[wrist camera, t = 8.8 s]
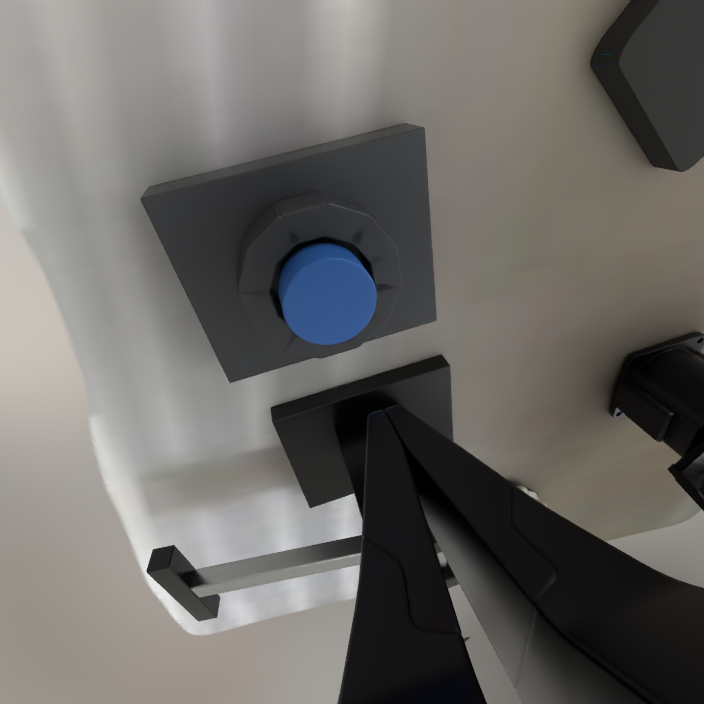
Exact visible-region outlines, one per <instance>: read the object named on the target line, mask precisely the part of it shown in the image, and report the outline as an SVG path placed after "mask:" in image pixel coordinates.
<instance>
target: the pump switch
mask: <svg viewBox="0 0 704 704" xmlns="http://www.w3.org/2000/svg"><path fill="white" fill-rule="evenodd" d="M141 202H142V204H143V206H144V208H145V210H146V212H147V214H148V216H149V218H150V220H151V222H152V224H153V226H154V228H155V230H156V232H157V234H158V236H159V239H160V241H161V243H162V245H163V247H164V249H165V251H166V253H167V255H168V257H169V259H170V261H171V263H172V265H173V267H174V269H175V271H176V273H177V275H178V278H179V280H180V282H181V284H182V286H183V288H184V290H185V292H186V294H187V296H188V298H189V300H190V302H191V304H192V306H193V308H194V310H195V312H196V315H197V317H198V319H199V321H200V323H201V325H202V327H203V329H204V331H205V333H206V335H207V337H208V339H209V341H210V343H211V345H212V347H213V349H214V352H215V354H216V356H217V358H218V360H219V362H220V364H221V366H222V368H223V370H224V372H225V374H226V376H227V378H228V380H229V382H230V383H231V382H235V381H238V380H241V379H245V378H248V377H251V376H255V375H258V374H261V373H265V372H268V371H271V370H274V369H278V368H281V367H284V366H288V365H291V364H294V363H298V362H301V361H304V360H308V359H311V358H325V357H328V356H331V355H335V354H338V353H341V352H345V351H348V350H351V349H355V348H357V347H359V346H361V345H362V344H363V343H364V342H367V341H370V340H374V339H377V338H380V337H384V336H387V335H390V334H393V333H397V332H400V331H403V330H407V329H410V328H413V327H417V326H420V325H423V324H427V323H430V322H433V321H436V304H435V288H434V272H433V256H432V240H431V224H430V208H429V192H428V176H427V160H426V144H425V129H424V127H420V126H415V125H411V124H406V123H405V124H401V125H397V126H393V127H389V128H385V129H381V130H377V131H373V132H369V133H365V134H360V135H356V136H352V137H348V138H344V139H340V140H336V141H332V142H328V143H324V144H320V145H316V146H312V147H308V148H304V149H300V150H296V151H292V152H288V153H284V154H280V155H276V156H272V157H268V158H264V159H260V160H256V161H251V162H247V163H243V164H239V165H235V166H231V167H227V168H223V169H219V170H215V171H211V172H207V173H203V174H199V175H195V176H191V177H187V178H183V179H179V180H175V181H171V182H167V183H163V184H159V185H155V186H151V187H149V188H148V189H147V191H146V192H145V193H144V195H143V196H142V197H141ZM317 243H332V244H337V245H340V246H342V247H344V248H346V249H348V250H349V251H351V252H352V253H353V254H354V255H355V256H356V257H357V258H358V260H359V261H360V262H361V264H362V265H363V266H364V268H365V269H366V271H367V272H368V273H369V275H370V276H371V278H372V280H373V282H374V284H375V288H376V294H377V299H376V306H375V310H374V313H373V315H372V317H371V319H370V321H369V322H368V324H367V325H366V326H365V327H364V328H363V329H362V330H361V331H360V332H359V333H358V334H357V335H355V336H354V337H352V338H350V339H348V340H346V341H344V342H341V343H337V344H331V345H320V344H314V343H310V342H308V341H305V340H303V339H302V338H300V337H299V336H297V335H296V334H295V333H294V332H293V331H292V330H291V329H290V328H289V326H288V325H287V323H286V321H285V318H284V315H283V311H282V307H281V302H280V298H279V294H278V281H279V276H280V273H281V270H282V268H283V266H284V265H285V263H286V262H287V261H288V259H289V258H290V257H291V256H292V255H294V254H295V253H296V252H297V251H299V250H300V249H302V248H304V247H306V246H309V245H312V244H317Z"/></svg>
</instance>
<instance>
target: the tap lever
mask: <svg viewBox="0 0 704 704" xmlns="http://www.w3.org/2000/svg"><path fill="white" fill-rule="evenodd" d="M362 539H363V537H362V535H360V536H355V537H350V538H345V539H341V540H336V541H331V542H326V543H321V544H316V545H312V546H307V547H302V548H297V549H292V550H287V551H283V552H278V553H273V554H268V555H263V556H258V557H254V558H249V559H244V560H239V561H234V562H229V563H225V564H220V565H215V566H210V567H205V568H201V569H195V568H194V567H193V566H192V565H191V563H190V562H189V561H188V560H187V559H186V558H185V557H184V556H183V554H182V553H181V552H180V551H179V550H178V549H177V548H176V547H175V545H172V546H167V547H162V548H157V549H153V551H152V554H151V558H150V561H149V564H148V568H147V573H148V574H149V575H150V576H151V577H152V578H153V579H154V580H155V581H156V582H157V583H158V584H160V585H161V586H162V587H163V588H164V589H165V590H166V591H167V592H168V593H169V594H170V595H171V596H172V597H173V598H174V599H175V600H176V601H178V602H179V603H180V604H181V605H182V606H183V607H184V608H185V609H186V610H187V611H188V612H189V613H190V614H191V615H192V616H193V617H194V618H195V619H197V620H198V621H203V620H207V619H212V618H217V615H218V608H219V601H220V596H219V595H218V594H219V593H224V592H229V591H234V590H239V589H244V588H249V587H253V586H258V585H263V584H268V583H273V582H278V581H282V580H287V579H292V578H297V577H302V576H307V575H312V574H316V573H321V572H326V571H331V570H336V569H341V568H346V567H350V566H355V565H360V561H361V543H362ZM437 555H438V558H439V562H440V565H441V568H442V567H446V566H447V560H446V558H445V556H444V554H443V552H440V553H438V554H437Z"/></svg>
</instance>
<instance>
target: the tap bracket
mask: <svg viewBox="0 0 704 704" xmlns="http://www.w3.org/2000/svg"><path fill="white" fill-rule="evenodd" d="M398 404H400V405H402V406H404V407H405V408H406V409H408V410H409V411H411V412H412V413H414V414H415V415H416V416H418V417H419V418H421V419H422V420H423V421H425V422H426V423H428V424H429V425H430V426H432V427H433V428H435V429H436V430H438V431H439V432H440V433H442V434H443V435H445V436H446V437H447V438H449V439H450V440H452V441H453V424H452V400H451V377H450V365H449V364H448V362H447V361H446V360H445V358H444V357H443V356H442V355H439V356H436V357H433V358H430V359H426V360H423V361H420V362H417V363H414V364H410V365H407V366H404V367H401V368H398V369H394V370H391V371H388V372H385V373H382V374H378V375H375V376H372V377H369V378H366V379H362V380H359V381H356V382H353V383H350V384H346V385H343V386H340V387H337V388H333V389H330V390H327V391H324V392H321V393H317V394H314V395H311V396H308V397H305V398H301V399H298V400H295V401H292V402H289V403H285V404H282V405H279V406H276V407H273V408H271V415H272V422H273V424H274V427H275V429H276V431H277V434H278V436H279V438H280V440H281V443H282V445H283V447H284V450H285V452H286V454H287V457H288V459H289V461H290V463H291V466H292V468H293V470H294V473H295V475H296V477H297V480H298V482H299V484H300V486H301V489H302V491H303V493H304V496H305V498H306V500H307V503H308V505H309V507H310V508H312V507H315V506H318V505H321V504H324V503H327V502H330V501H333V500H336V499H339V498H342V497H345V496H348V495H350V494H353V493H354V494H355V497H356V500H357V503H358V507H359V510H360V513H361V517H362V520H363V506H364V485H365V464H366V443H367V422H368V415H369V414H370V413H373V412H376V411H379V410H384V411H385V409H386V408H388V407H391V406H395V405H398ZM429 529H430V528H429ZM430 533H431V536H432V539H433V542H434V546H435V549H436V552H437V554H438V553H440V552H442V550H441V549H440V547H439V545H438V543H437V541H436V539H435V537H434V535H433V533H432V532H431V530H430ZM442 571H443V574H444V578H445V581H446V584H447V587H448V588H450V587H453V586H455V585H458V584H459V582H458V581H457V579H456V577H455V575H454V573H453V571H452V569H451V567H450V565H449V564H448V562H447V566H446V567H442Z"/></svg>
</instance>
